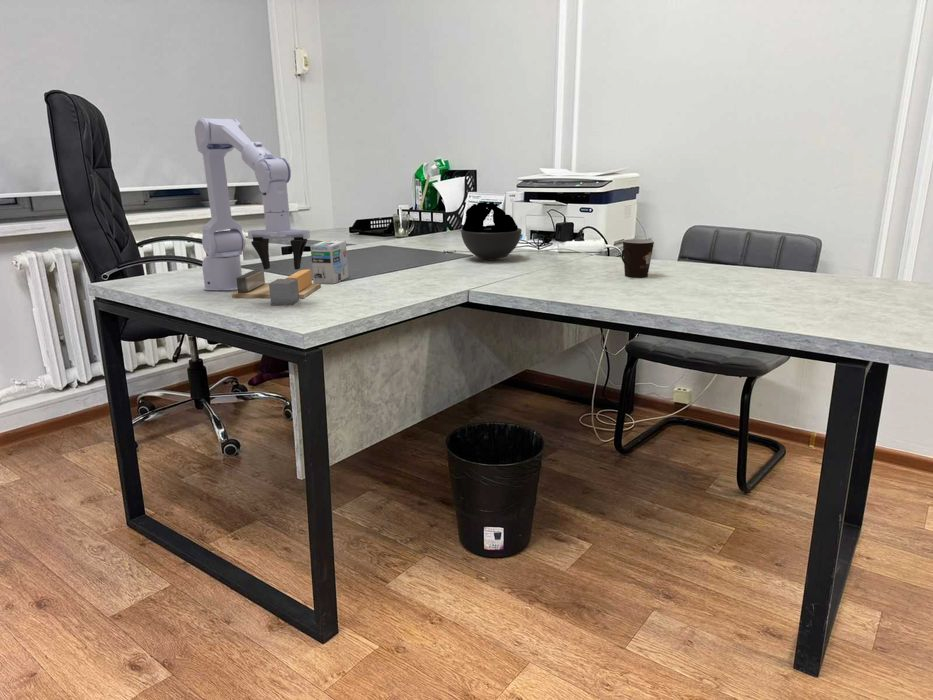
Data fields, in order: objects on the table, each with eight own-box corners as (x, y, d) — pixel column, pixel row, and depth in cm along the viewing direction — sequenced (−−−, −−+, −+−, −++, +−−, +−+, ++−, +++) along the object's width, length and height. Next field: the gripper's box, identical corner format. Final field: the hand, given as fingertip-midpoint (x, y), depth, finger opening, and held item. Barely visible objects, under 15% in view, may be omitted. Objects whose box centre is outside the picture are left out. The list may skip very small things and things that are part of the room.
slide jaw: (285, 292, 167) (284, 278, 166) (301, 283, 179) (300, 269, 177) (297, 292, 167) (295, 278, 166) (312, 283, 178) (310, 269, 177)
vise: (231, 297, 168) (229, 278, 166) (253, 286, 181) (251, 268, 180) (303, 298, 166) (302, 278, 165) (320, 287, 179) (319, 269, 178)
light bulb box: (335, 284, 183) (332, 245, 180) (312, 283, 185) (309, 245, 181) (349, 277, 193) (346, 240, 190) (327, 276, 195) (324, 240, 191)
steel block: (271, 305, 159) (268, 283, 157) (280, 300, 165) (277, 278, 163) (291, 306, 159) (289, 283, 157) (299, 300, 164) (297, 278, 163)
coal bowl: (475, 253, 233) (474, 199, 227) (529, 256, 225) (529, 200, 220) (451, 262, 215) (450, 204, 210) (509, 266, 208) (509, 205, 202)
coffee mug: (640, 272, 194) (643, 238, 191) (657, 277, 186) (660, 242, 184) (606, 275, 191) (607, 240, 188) (621, 280, 183) (623, 244, 180)
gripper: (240, 213, 152) (246, 271, 156) (300, 213, 151) (305, 271, 155) (252, 210, 159) (258, 266, 163) (310, 210, 157) (315, 266, 161)
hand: (282, 268), depth 159 cm, fingers open, 7 cm apart
